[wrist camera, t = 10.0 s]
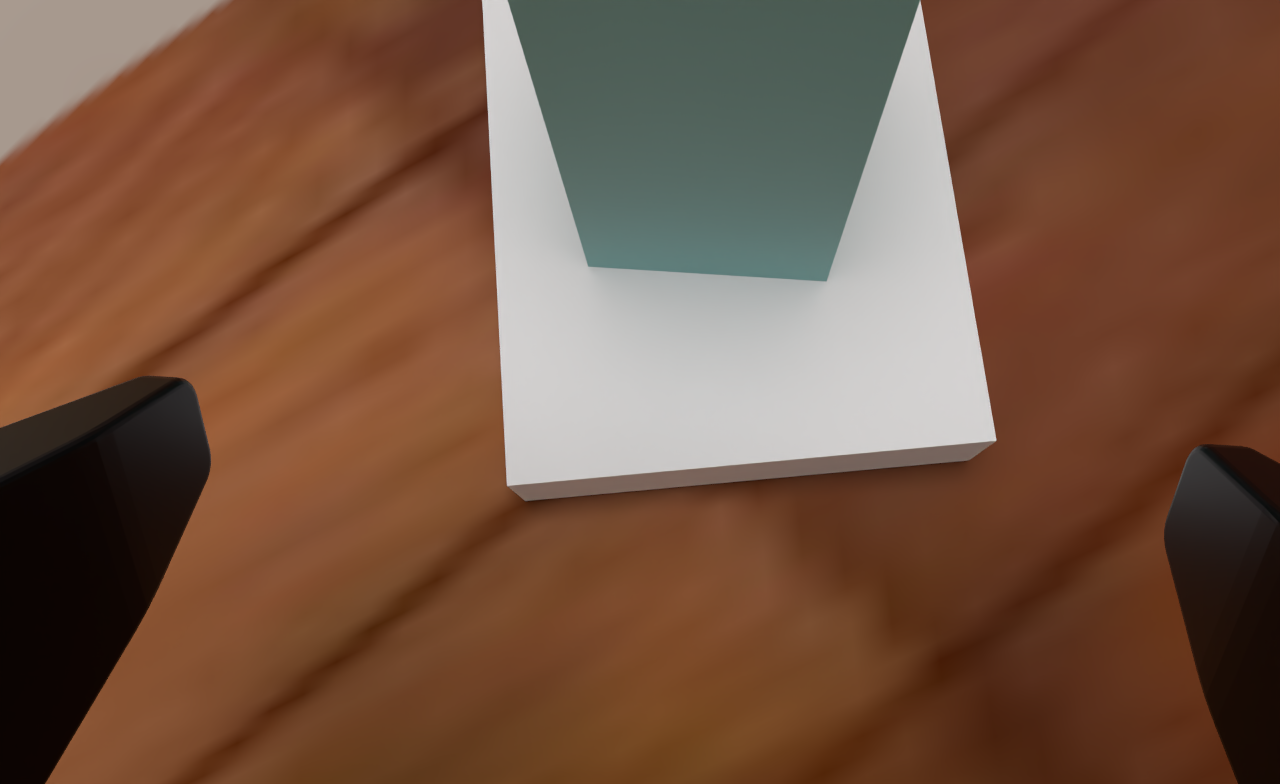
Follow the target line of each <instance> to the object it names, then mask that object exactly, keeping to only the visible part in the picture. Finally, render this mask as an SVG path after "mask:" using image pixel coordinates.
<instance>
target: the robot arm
mask: <svg viewBox="0 0 1280 784" xmlns="http://www.w3.org/2000/svg"><path fill="white" fill-rule="evenodd" d="M210 466H211V454H210V448H209V444H208V440H207V435H206V431H205V427H204V423H203V419H202V415H201V411H200V406H199V402H198V398H197V395H196V392H195V389H194V388H193V386H192V385H191V384H190V383H189V382H188V381H187V380H185V379H183V378H177V377H161V376H142V377H138V378H135V379H133V380H130V381H127V382H124V383H122V384H119V385H116V386H113V387H111V388H108V389H105V390H103V391H100V392H97V393H94V394H92V395H89V396H86V397H83V398H81V399H78V400H75V401H73V402H70V403H67V404H64V405H62V406H59V407H56V408H53V409H51V410H48V411H45V412H42V413H40V414H37V415H34V416H32V417H29V418H26V419H23V420H21V421H18V422H15V423H12V424H10V425H7V426H4V427H2V428H0V784H45V783H46V782H47V780H48V778H49V777H50V775H51V773H52V771H53V770H54V768H55V766H56V765H57V763H58V761H59V760H60V758H61V756H62V755H63V753H64V751H65V750H66V748H67V746H68V744H69V743H70V741H71V739H72V738H73V736H74V734H75V733H76V731H77V729H78V728H79V726H80V724H81V723H82V721H83V719H84V718H85V716H86V714H87V712H88V711H89V709H90V707H91V706H92V704H93V702H94V701H95V699H96V697H97V696H98V694H99V692H100V691H101V689H102V687H103V685H104V684H105V682H106V680H107V679H108V677H109V675H110V674H111V672H112V670H113V669H114V667H115V665H116V664H117V662H118V660H119V659H120V657H121V655H122V653H123V652H124V650H125V648H126V647H127V645H128V643H129V642H130V640H131V638H132V637H133V635H134V633H135V632H136V630H137V628H138V626H139V624H140V623H141V621H142V619H143V617H144V615H145V614H146V612H147V610H148V608H149V606H150V604H151V602H152V600H153V598H154V596H155V594H156V592H157V590H158V588H159V586H160V583H161V581H162V579H163V577H164V575H165V572H166V570H167V568H168V566H169V563H170V561H171V559H172V557H173V555H174V552H175V550H176V548H177V546H178V544H179V541H180V539H181V537H182V535H183V532H184V530H185V528H186V526H187V524H188V521H189V519H190V517H191V515H192V512H193V510H194V508H195V506H196V504H197V501H198V499H199V497H200V495H201V492H202V490H203V488H204V486H205V484H206V481H207V479H208V476H209V472H210ZM1164 541H1165V548H1166V553H1167V557H1168V561H1169V565H1170V568H1171V572H1172V576H1173V580H1174V584H1175V588H1176V592H1177V595H1178V599H1179V603H1180V607H1181V611H1182V615H1183V619H1184V622H1185V626H1186V630H1187V634H1188V638H1189V642H1190V646H1191V649H1192V653H1193V657H1194V661H1195V665H1196V669H1197V673H1198V676H1199V679H1200V683H1201V686H1202V689H1203V693H1204V696H1205V699H1206V702H1207V705H1208V708H1209V710H1210V713H1211V716H1212V719H1213V721H1214V724H1215V727H1216V729H1217V732H1218V734H1219V737H1220V739H1221V742H1222V744H1223V747H1224V749H1225V752H1226V754H1227V757H1228V760H1229V762H1230V765H1231V767H1232V770H1233V772H1234V775H1235V777H1236V780H1237V782H1238V784H1280V463H1278V462H1276V461H1274V460H1272V459H1270V458H1268V457H1267V456H1265V455H1263V454H1261V453H1259V452H1257V451H1255V450H1253V449H1251V448H1248V447H1243V446H1230V445H1214V444H1203V445H1200V446H1198V447H1196V448H1195V449H1193V451H1192V452H1191V453H1190V455H1189V456H1188V458H1187V461H1186V463H1185V466H1184V469H1183V472H1182V475H1181V478H1180V481H1179V484H1178V486H1177V489H1176V492H1175V495H1174V498H1173V501H1172V504H1171V507H1170V510H1169V513H1168V516H1167V519H1166V523H1165V529H1164Z"/></svg>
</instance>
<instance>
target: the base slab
mask: <svg viewBox="0 0 1280 784" xmlns="http://www.w3.org/2000/svg"><path fill="white" fill-rule="evenodd" d="M482 2H483V22H484V42H485V62H486V81H487V101H488V121H489V140H490V160H491V180H492V200H493V219H494V239H495V259H496V278H497V298H498V318H499V338H500V357H501V377H502V397H503V416H504V436H505V456H506V476H507V486H508V487H509V488H510V489H511V490H513V491H514V492H515V493H516V494H517V495H519V496H520V497H521V498H522V499H523V500H525V501H531V500H542V499H553V498H564V497H575V496H586V495H597V494H608V493H619V492H629V491H640V490H651V489H662V488H673V487H684V486H695V485H706V484H717V483H728V482H739V481H750V480H761V479H771V478H782V477H793V476H804V475H815V474H826V473H837V472H848V471H859V470H870V469H881V468H892V467H903V466H913V465H924V464H935V463H946V462H957V461H968V460H970V459H972V458H973V457H974V456H976V455H977V454H979V453H980V452H981V451H983V450H984V449H986V448H987V447H988V446H990V445H991V444H993V443H994V442H995V441H996V436H995V430H994V424H993V418H992V412H991V407H990V401H989V395H988V389H987V383H986V378H985V372H984V366H983V360H982V355H981V349H980V343H979V337H978V331H977V326H976V320H975V314H974V308H973V303H972V297H971V291H970V285H969V279H968V274H967V268H966V262H965V256H964V250H963V245H962V239H961V233H960V227H959V222H958V216H957V210H956V204H955V198H954V193H953V187H952V181H951V175H950V169H949V164H948V158H947V152H946V146H945V141H944V135H943V129H942V123H941V117H940V112H939V106H938V100H937V94H936V88H935V83H934V77H933V71H932V65H931V60H930V54H929V48H928V42H927V36H926V31H925V25H924V19H923V13H922V7H921V2H919V5H918V8H917V11H916V14H915V17H914V20H913V23H912V26H911V29H910V32H909V35H908V38H907V41H906V44H905V47H904V50H903V53H902V56H901V59H900V62H899V65H898V68H897V71H896V74H895V77H894V80H893V83H892V86H891V89H890V92H889V95H888V98H887V101H886V104H885V107H884V110H883V113H882V116H881V119H880V122H879V125H878V128H877V131H876V134H875V137H874V140H873V143H872V146H871V149H870V152H869V155H868V158H867V161H866V164H865V167H864V170H863V173H862V176H861V179H860V182H859V185H858V188H857V191H856V194H855V197H854V200H853V203H852V206H851V209H850V212H849V215H848V218H847V221H846V224H845V227H844V230H843V233H842V236H841V239H840V242H839V245H838V248H837V251H836V254H835V257H834V260H833V263H832V266H831V269H830V272H829V275H828V278H827V281H811V280H795V279H779V278H762V277H746V276H730V275H714V274H698V273H682V272H666V271H650V270H634V269H618V268H602V267H588V264H587V261H586V258H585V254H584V251H583V248H582V244H581V241H580V238H579V234H578V231H577V228H576V225H575V221H574V218H573V215H572V211H571V208H570V205H569V201H568V198H567V195H566V192H565V188H564V185H563V182H562V178H561V175H560V172H559V168H558V165H557V162H556V158H555V155H554V152H553V149H552V145H551V142H550V139H549V135H548V132H547V129H546V125H545V122H544V119H543V116H542V112H541V109H540V106H539V102H538V99H537V96H536V92H535V89H534V86H533V83H532V79H531V76H530V73H529V69H528V66H527V63H526V59H525V56H524V53H523V49H522V46H521V43H520V40H519V36H518V33H517V30H516V26H515V23H514V20H513V16H512V13H511V10H510V7H509V3H508V0H482Z"/></svg>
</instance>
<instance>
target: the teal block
mask: <svg viewBox="0 0 1280 784" xmlns="http://www.w3.org/2000/svg"><path fill="white" fill-rule="evenodd" d="M919 2H920V0H508V3H509V7H510V10H511V13H512V16H513V20H514V23H515V26H516V30H517V33H518V36H519V40H520V43H521V46H522V49H523V53H524V56H525V59H526V63H527V66H528V69H529V73H530V76H531V79H532V83H533V86H534V89H535V92H536V96H537V99H538V102H539V106H540V109H541V112H542V116H543V119H544V122H545V125H546V129H547V132H548V135H549V139H550V142H551V145H552V149H553V152H554V155H555V158H556V162H557V165H558V168H559V172H560V175H561V178H562V182H563V185H564V188H565V192H566V195H567V198H568V201H569V205H570V208H571V211H572V215H573V218H574V221H575V225H576V228H577V231H578V234H579V238H580V241H581V244H582V248H583V251H584V254H585V258H586V261H587V264H588V267H602V268H618V269H634V270H650V271H666V272H682V273H698V274H714V275H730V276H746V277H762V278H779V279H795V280H811V281H827V278H828V275H829V272H830V269H831V266H832V263H833V260H834V257H835V254H836V251H837V248H838V245H839V242H840V239H841V236H842V233H843V230H844V227H845V224H846V221H847V218H848V215H849V212H850V209H851V206H852V203H853V200H854V197H855V194H856V191H857V188H858V185H859V182H860V179H861V176H862V173H863V170H864V167H865V164H866V161H867V158H868V155H869V152H870V149H871V146H872V143H873V140H874V137H875V134H876V131H877V128H878V125H879V122H880V119H881V116H882V113H883V110H884V107H885V104H886V101H887V98H888V95H889V92H890V89H891V86H892V83H893V80H894V77H895V74H896V71H897V68H898V65H899V62H900V59H901V56H902V53H903V50H904V47H905V44H906V41H907V38H908V35H909V32H910V29H911V26H912V23H913V20H914V17H915V14H916V11H917V8H918V5H919Z"/></svg>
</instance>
